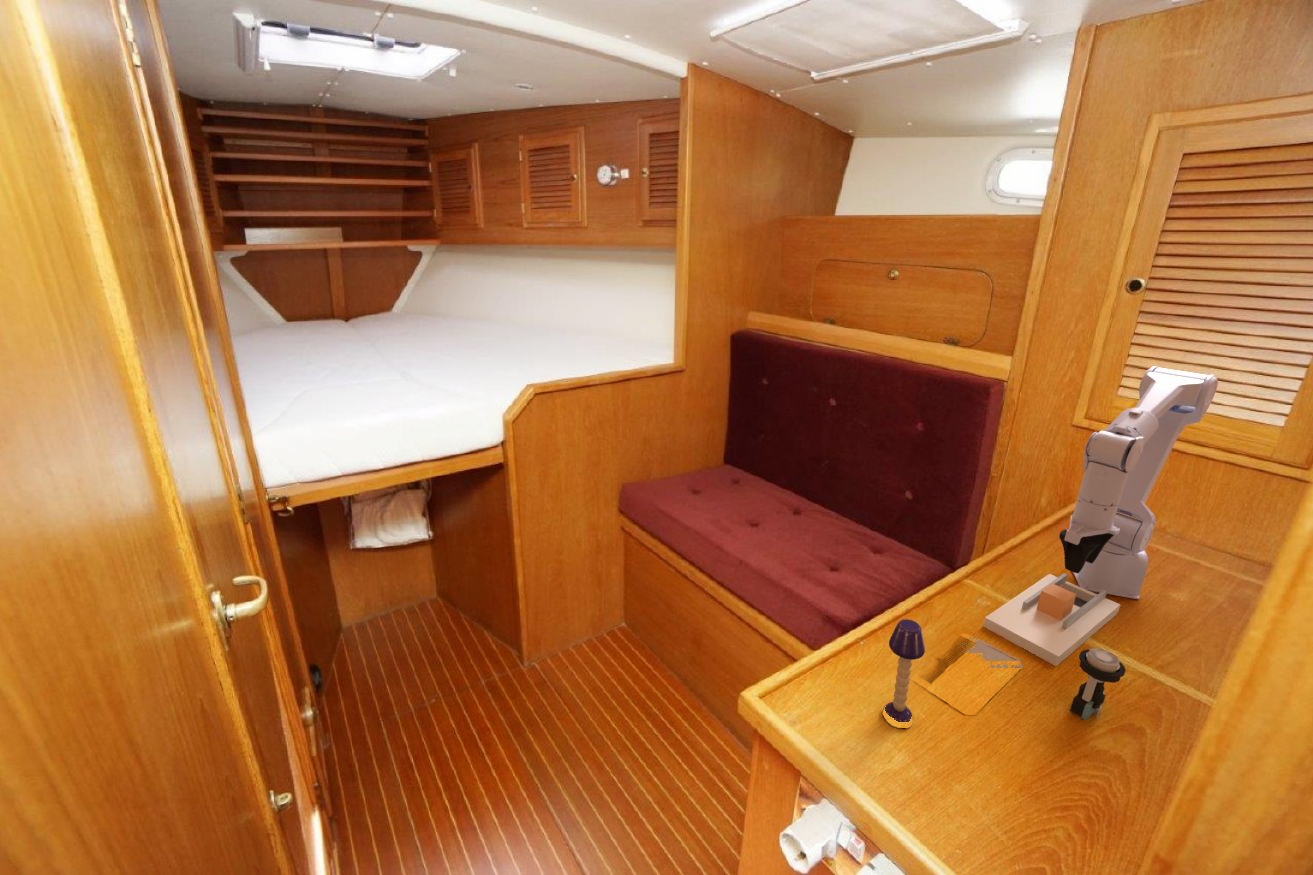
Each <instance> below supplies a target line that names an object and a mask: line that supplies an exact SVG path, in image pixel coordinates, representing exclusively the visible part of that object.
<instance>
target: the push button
mask: <svg viewBox="0 0 1313 875" xmlns="http://www.w3.org/2000/svg"><path fill="white" fill-rule="evenodd" d="M1078 659H1079V661H1080V662H1079V667H1080V669H1081V670H1082V672H1084V673H1085V674H1087V676H1088V677H1087V680H1086V681H1085V682H1084V683H1082V684H1080V686H1079V689H1078V694H1076V695H1075V696H1074V697H1073V699H1072V701H1071V705H1070V709H1069V710H1070V712H1072V713H1074V714H1075V715H1076V716H1078V717H1080V718H1081V719H1083V720H1085V721H1086V720H1088V719H1089V718H1090V717H1092V715H1093V714H1095V713H1096V715H1095V717H1096V718H1099V716H1100V715H1101V713H1102V709H1103V706H1102V705H1103V704H1104V703H1105V702H1104V701H1105V699H1106V697H1107V696H1106V694H1105V692H1104V691H1105V689H1106V688H1105V683H1112V684H1116V683H1118V682H1120V681H1121V678H1122V677H1124V676H1125V673H1126V667H1125V665H1124V664H1123V663H1122V662H1121V661H1120V660H1119V659H1120V658H1118V657H1117V656H1116V655H1115V654H1114V653H1112V652H1111V651H1108V650H1105V649H1103V648H1097V647H1094V648H1090V649H1083V650H1082V651H1080V652H1079V655H1078Z"/></svg>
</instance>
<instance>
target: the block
mask: <svg viewBox="0 0 1313 875" xmlns="http://www.w3.org/2000/svg"><path fill="white" fill-rule="evenodd" d="M1075 598H1076V594H1075V593H1073V592H1071V591H1068V590H1066V589H1064V588H1062V587H1059V586H1057V585H1055V584H1053V583H1052V584H1050V585H1049V586H1047V587H1046V588H1044V589H1043V590H1042V591H1041V594H1040V598H1039V602H1038V605H1037V610H1040V611H1042V612H1044V613H1046V614H1048V615H1050V616H1052V617H1054V618H1056V619H1058V620H1060V621H1061V620H1062V619H1064V618H1065V617H1066V616H1067V615H1069V614H1070V613H1071V611H1072V608H1073V605H1074V601H1075Z"/></svg>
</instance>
